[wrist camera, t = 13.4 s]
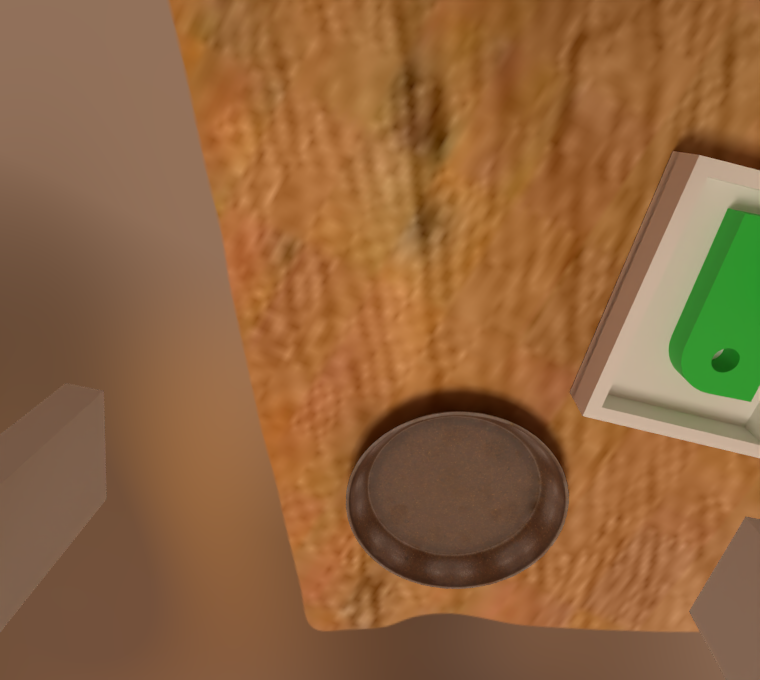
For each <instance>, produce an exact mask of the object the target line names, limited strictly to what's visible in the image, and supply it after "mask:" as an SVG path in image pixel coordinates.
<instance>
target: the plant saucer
mask: <svg viewBox="0 0 760 680" xmlns="http://www.w3.org/2000/svg"><path fill="white" fill-rule="evenodd" d="M568 504H569V491H568V485H567V481H566V477H565V474H564V472H563V469H562V467H561V465H560V463H559V462H558V460H557V458H556V457H555V456H554V454H553V453H552V452H551V450H550V449H549V448H548V447H547V446H546V445H545V444H544V443H543V442H542V441H541V440H540V439H539V438H537V437H536V436H535V435H533V434H532V433H531V432H529V431H528V430H526V429H524V428H523V427H521V426H519V425H517V424H515V423H513V422H510V421H508V420H505V419H503V418H500V417H496V416H493V415H489V414H484V413H479V412H472V411H445V412H438V413H432V414H428V415H424V416H420V417H417V418H414V419H412V420H409V421H407V422H404V423H402V424H400V425H398V426H397V427H395V428H393V429H392V430H390V431H388V432H387V433H385V434H384V435H383V436H381V437H380V438H379V439H378V440H376V441H375V442H374V443H373V444H372V445H371V446H370V447H369V448H368V449H367V450H366V451H365V452H364V454H363V455H362V456H361V457H360V459H359V460H358V462H357V464H356V465H355V467H354V469H353V471H352V474H351V476H350V479H349V482H348V486H347V493H346V510H347V516H348V520H349V523H350V526H351V529H352V531H353V534H354V535H355V537H356V539H357V541H358V542H359V544H360V545H361V546H362V548H363V549H364V550H365V552H366V553H367V554H368V555H369V556H370V557H371V558H372V559H373V560H375V561H376V562H377V563H378V564H379V565H381V566H382V567H383V568H385V569H386V570H388V571H390V572H391V573H393V574H395V575H397V576H399V577H401V578H403V579H406V580H408V581H411V582H415V583H418V584H421V585H425V586H431V587H438V588H447V589H449V588H452V589H456V588H457V589H462V588H473V587H480V586H485V585H490V584H493V583H497V582H499V581H502V580H505V579H507V578H510V577H512V576H514V575H516V574H518V573H520V572H522V571H523V570H525V569H527V568H528V567H530V566H531V565H532V564H534V563H535V562H536V561H538V560H539V559H540V558H541V557H542V556H543V555H544V554H545V553H546V552H547V551H548V550H549V548H550V547H551V546H552V545H553V543H554V542H555V541H556V539H557V538H558V536H559V534H560V532H561V530H562V528H563V525H564V523H565V519H566V516H567V511H568Z"/></svg>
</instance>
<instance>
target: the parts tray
mask: <svg viewBox="0 0 760 680" xmlns="http://www.w3.org/2000/svg"><path fill="white" fill-rule="evenodd" d="M728 208H729V209H734V210H739V211H744V212H749V213H754V214H759V215H760V170H756V169H752V168H748V167H744V166H741V165H737V164H733V163H729V162H725V161H721V160H717V159H713V158H709V157H706V156H702V155H696V154H690V153H683V152H677V151H673V152H672V155H671V157H670V159H669V162H668V164H667V166H666V169H665V171H664V173H663V176H662V178H661V180H660V183H659V185H658V187H657V190H656V192H655V194H654V197H653V199H652V201H651V204H650V206H649V208H648V211H647V213H646V215H645V218H644V220H643V222H642V225H641V227H640V229H639V232H638V234H637V236H636V239H635V241H634V243H633V246H632V248H631V250H630V253H629V255H628V257H627V260H626V262H625V264H624V267H623V269H622V271H621V274H620V276H619V278H618V281H617V283H616V285H615V288H614V290H613V292H612V295H611V297H610V299H609V302H608V304H607V306H606V309H605V311H604V313H603V316H602V318H601V320H600V323H599V325H598V327H597V330H596V332H595V334H594V337H593V339H592V341H591V344H590V346H589V348H588V351H587V353H586V355H585V358H584V360H583V362H582V365H581V367H580V369H579V372H578V374H577V376H576V379H575V381H574V383H573V386H572V388H571V390H570V394H571V396H572V398H573V399H574V401H575V403H576V405H577V407H578V408H579V410H580V412H581V414H582V416H585V417H589V418H593V419H597V420H602V421H606V422H610V423H614V424H618V425H623V426H627V427H631V428H635V429H639V430H644V431H648V432H652V433H656V434H660V435H665V436H669V437H673V438H677V439H681V440H686V441H690V442H694V443H698V444H702V445H707V446H711V447H715V448H719V449H723V450H728V451H732V452H736V453H740V454H744V455H749V456H753V457H757V458H760V386H759V388H758V390H757V392H756V394H755V395H754V397H753V399H752V401H751V402H748V401H743V400H738V399H733V398H728V397H723V396H718V395H713V394H708V393H704V392H702V391H699V390H697V389H696V388H694V387H693V386H692V385H690V384H689V383H688V382H687V381H686V380H685V379H684V378H683V377H682V376H681V375H680V374H679V373H678V372H677V371H676V369H675V368H674V367H673V365H672V363H671V361H670V358H669V342H670V339H671V336H672V334H673V332H674V329H675V327H676V325H677V322H678V320H679V318H680V316H681V313H682V311H683V309H684V307H685V304H686V302H687V300H688V297H689V295H690V293H691V291H692V288H693V286H694V284H695V282H696V279H697V277H698V275H699V272H700V270H701V268H702V266H703V263H704V261H705V259H706V257H707V254H708V252H709V250H710V247H711V245H712V243H713V241H714V238H715V236H716V234H717V232H718V229H719V227H720V225H721V222H722V220H723V218H724V216H725V213H726V211H727V209H728ZM723 350H724V349H722V350H720V351H718V352H717V353H716V354H715V355H714V356H713V358H712V360H713V359H715V358H717V357H719V356H720V355H721V354H722V352H723Z"/></svg>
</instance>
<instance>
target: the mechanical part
mask: <svg viewBox="0 0 760 680" xmlns="http://www.w3.org/2000/svg"><path fill="white" fill-rule="evenodd" d="M722 349H724V350H723V352H722V354H721V355H720V356H719V357H717V358H715V359H713V360H712V358H713V356H714V355H715V354H716V353H717V352H718V351H720V350H722ZM669 358H670V361H671V363H672V365H673V367H674V368H675V369H676V371H677V372H678V373H679V374H680V375H681V376H682V377H683V378H684V379H685V380H686V381H687V382H688V383H689V384H690V385H692V386H693V387H694V388H696V389H697V390H699V391H702V392H704V393H708V394H713V395H718V396H723V397H728V398H733V399H738V400H743V401H748V402H751V401H752V399H753V397H754V395H755V394H756V392H757V390H758V388H759V386H760V215H759V214H754V213H749V212H744V211H739V210H734V209H729V208H728V209H727V211H726V213H725V216H724V218H723V220H722V222H721V225H720V227H719V229H718V232H717V234H716V236H715V238H714V241H713V243H712V245H711V247H710V250H709V252H708V254H707V257H706V259H705V261H704V263H703V266H702V268H701V270H700V272H699V275H698V277H697V279H696V282H695V284H694V286H693V288H692V291H691V293H690V295H689V297H688V300H687V302H686V304H685V307H684V309H683V311H682V313H681V316H680V318H679V320H678V322H677V325H676V327H675V329H674V332H673V334H672V336H671V339H670V342H669Z"/></svg>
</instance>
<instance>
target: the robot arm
mask: <svg viewBox="0 0 760 680" xmlns="http://www.w3.org/2000/svg"><path fill="white" fill-rule="evenodd" d="M105 463H106V461H105V422H104V391H103V390H98V389H93V388H87V387H82V386H77V385H72V384H67V383H65V384H64V385H63V386H62V387H60V388H59V389H58V390H56V391H55V392H54V393H52V394H51V395H50V396H49V397H47V398H46V399H45V400H44V401H42V402H41V403H40V404H38V405H37V406H36V407H35V408H33V409H32V410H31V411H29V412H28V413H27V414H26V415H24V416H23V417H22V418H20V419H19V420H18V421H17V422H15V423H14V424H13V425H12V426H10V427H9V428H8V429H7V430H5V431H4V432H3V433H1V434H0V632H1V631H2V629H3V628H4V627H5V626H6V624H7V623H8V622H9V620H10V619H11V618H12V617H13V615H14V614H15V613H16V612H17V610H18V609H19V608H20V607H21V605H22V604H23V603H24V602H25V600H26V599H27V598H28V597H29V595H30V594H31V593H32V592H33V590H34V589H35V588H36V587H37V585H38V584H39V583H40V582H41V580H42V579H43V578H44V577H45V575H46V574H47V573H48V572H49V570H50V569H51V568H52V566H53V565H54V564H55V563H56V562H57V560H58V559H59V558H60V556H61V555H62V554H63V553H64V551H65V550H66V549H67V548H68V546H69V545H70V544H71V543H72V541H73V540H74V539H75V538H76V536H77V535H78V534H79V533H80V531H81V530H82V529H83V528H84V526H85V525H86V524H87V522H88V521H89V520H90V519H91V518H92V516H93V515H94V514H95V513H96V511H97V510H98V509H99V507H100V506H101V505H102V504H103V502H104V501H105V500H106V464H105ZM689 612H690V614H691V616H692V618H693V620H694V621H695V623H696V625H697V627H698V629H699V631H700V633H701V634H702V636H703V638H704V640H705V642H706V644H707V646H708V647H709V649H710V651H711V653H712V655H713V657H714V659H715V661H716V662H717V664H718V666H719V668H720V670H721V672H722V674H723V676H724V677H725V679H726V680H760V519H756V518H750V517H745V519H744V520H743V522H742V524H741V525H740V527H739V529H738V530H737V532H736V534H735V535H734V537H733V539H732V540H731V542H730V544H729V545H728V547H727V549H726V550H725V552H724V554H723V556H722V557H721V559H720V561H719V562H718V564H717V566H716V567H715V569H714V571H713V572H712V574H711V576H710V577H709V579H708V581H707V582H706V584H705V586H704V587H703V589H702V591H701V592H700V594H699V596H698V597H697V599H696V601H695V602H694V604H693V606H692V607H691V609H690V611H689Z"/></svg>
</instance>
